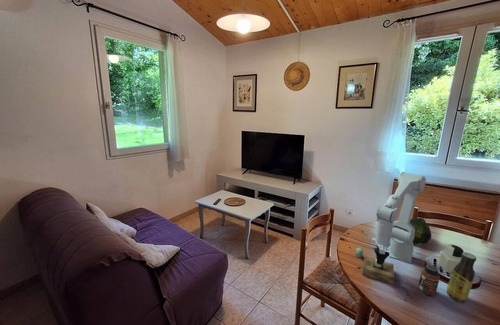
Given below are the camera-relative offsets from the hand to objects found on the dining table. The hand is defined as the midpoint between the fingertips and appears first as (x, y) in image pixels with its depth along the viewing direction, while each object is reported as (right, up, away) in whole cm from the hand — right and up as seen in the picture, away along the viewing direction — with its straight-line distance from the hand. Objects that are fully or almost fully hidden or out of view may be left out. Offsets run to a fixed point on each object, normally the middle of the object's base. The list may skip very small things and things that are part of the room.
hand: (379, 259), depth 102 cm
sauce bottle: (+24, -11, -12) cm, 29 cm away
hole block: (0, -7, +2) cm, 7 cm away
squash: (+36, -1, +28) cm, 45 cm away
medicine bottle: (+36, -7, +4) cm, 37 cm away
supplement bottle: (+15, -10, -9) cm, 19 cm away
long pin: (0, -7, +2) cm, 7 cm away
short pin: (-3, -4, +13) cm, 14 cm away
